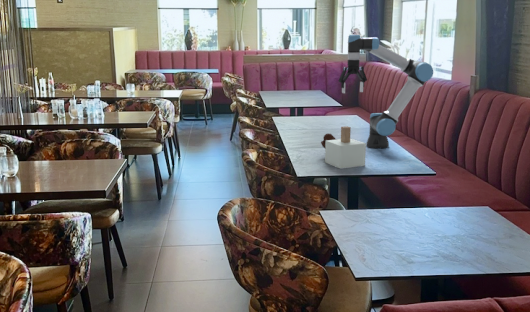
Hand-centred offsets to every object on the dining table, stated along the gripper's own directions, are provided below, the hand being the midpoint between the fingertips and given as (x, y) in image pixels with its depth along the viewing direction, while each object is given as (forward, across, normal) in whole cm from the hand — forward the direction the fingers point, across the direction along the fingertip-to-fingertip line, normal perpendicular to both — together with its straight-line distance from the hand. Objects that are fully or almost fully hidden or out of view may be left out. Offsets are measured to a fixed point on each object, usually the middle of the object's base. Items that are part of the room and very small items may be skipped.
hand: (352, 92), depth 353 cm
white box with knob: (+39, +23, +29) cm, 54 cm away
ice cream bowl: (+39, +21, +8) cm, 45 cm away
